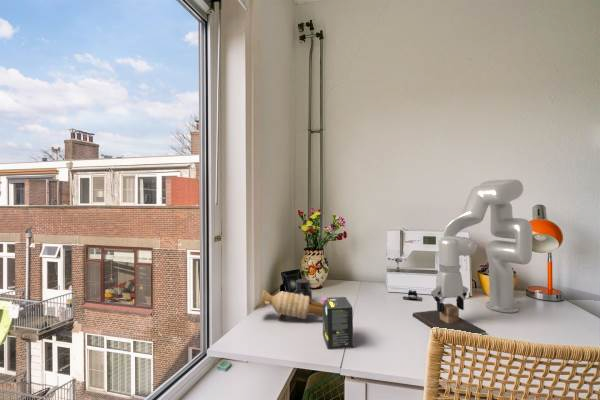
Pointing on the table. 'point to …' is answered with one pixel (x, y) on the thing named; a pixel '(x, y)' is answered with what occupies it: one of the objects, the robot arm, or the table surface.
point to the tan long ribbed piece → (291, 304)
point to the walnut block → (450, 314)
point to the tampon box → (337, 323)
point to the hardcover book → (434, 320)
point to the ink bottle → (303, 288)
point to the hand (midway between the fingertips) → (450, 310)
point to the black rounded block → (412, 297)
